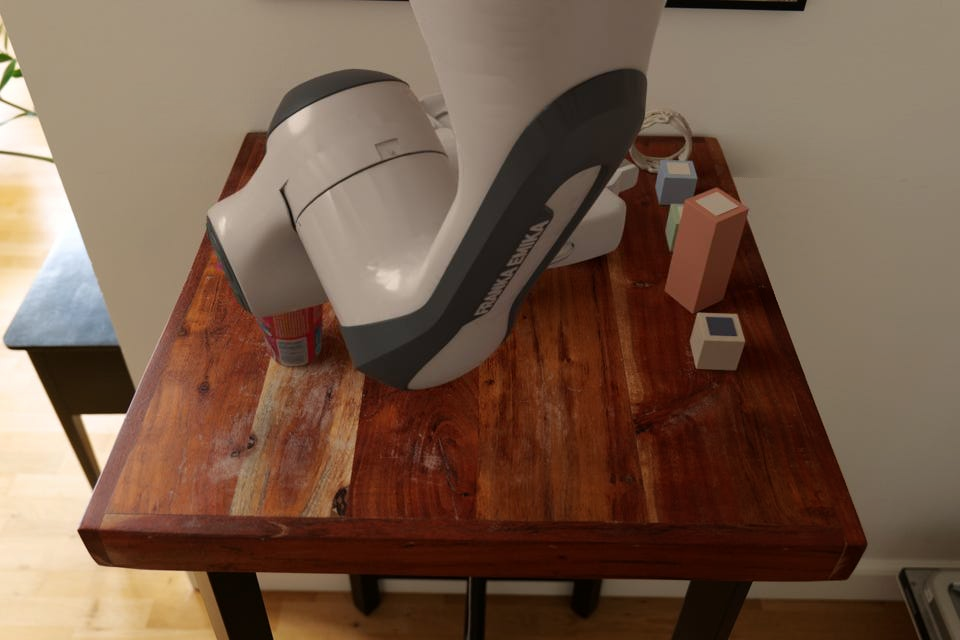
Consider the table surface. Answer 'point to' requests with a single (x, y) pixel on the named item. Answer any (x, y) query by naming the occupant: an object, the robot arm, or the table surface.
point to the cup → (293, 334)
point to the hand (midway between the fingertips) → (591, 142)
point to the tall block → (705, 249)
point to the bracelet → (665, 118)
